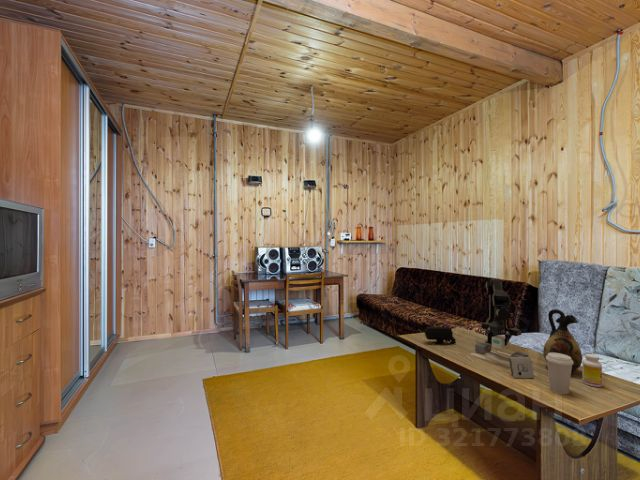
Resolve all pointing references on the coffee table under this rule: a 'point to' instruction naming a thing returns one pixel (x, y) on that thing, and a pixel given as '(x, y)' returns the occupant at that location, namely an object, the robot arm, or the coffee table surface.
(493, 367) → the coffee table surface
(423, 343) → the coffee table surface
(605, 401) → the coffee table surface
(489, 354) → the rail panel
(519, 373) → the electrical switch
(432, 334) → the security camera
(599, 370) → the supplement bottle
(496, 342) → the module block
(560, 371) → the coffee cup
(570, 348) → the ceramic jug
